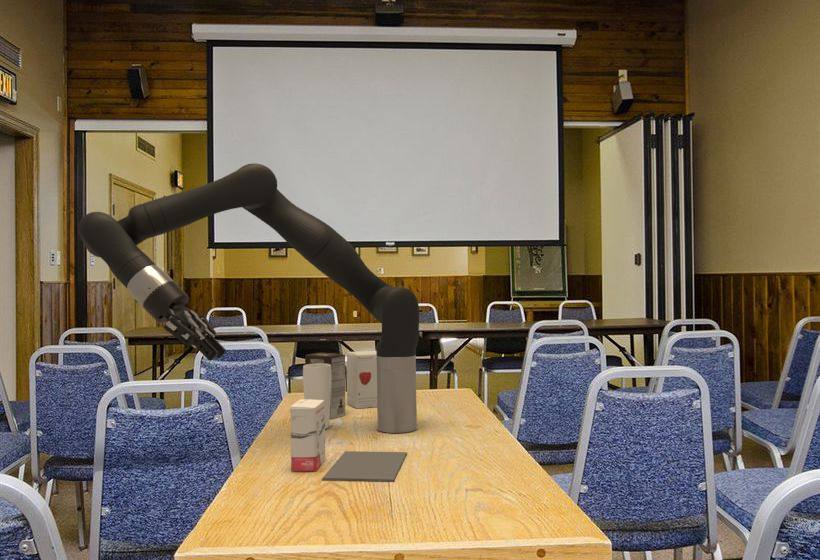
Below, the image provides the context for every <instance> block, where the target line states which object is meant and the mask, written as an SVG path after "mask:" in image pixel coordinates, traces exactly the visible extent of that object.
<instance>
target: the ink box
mask: <svg viewBox="0 0 820 560" xmlns="http://www.w3.org/2000/svg"><path fill="white" fill-rule="evenodd" d="M289 415H290V417H289V419H290V420H289V421H290V423H289V424H290V459H291V460H290V463H291V464H290V465H291V466H290V469H291V470H290V471H291V472H317V470H318V469H319V468H320V467H321V466H322V464H323V463H324V462H325V461H326V429H325V401H324V400H312V399H305V398H303V399H302V398H301V399H299V400H298V401H295V402H294V403H293V404H292V405H290V408H289Z"/></svg>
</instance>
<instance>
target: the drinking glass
mask: <svg viewBox="0 0 820 560" xmlns="http://www.w3.org/2000/svg"><path fill="white" fill-rule="evenodd" d="M331 385H332V371H331V365H330V364H307V365H305V364H304V365H303V366H302V386H303V395H304V398H303V399H312V400H324V401H325V430H327V429H329V427H330V419H329V414H330V399H331Z"/></svg>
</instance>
